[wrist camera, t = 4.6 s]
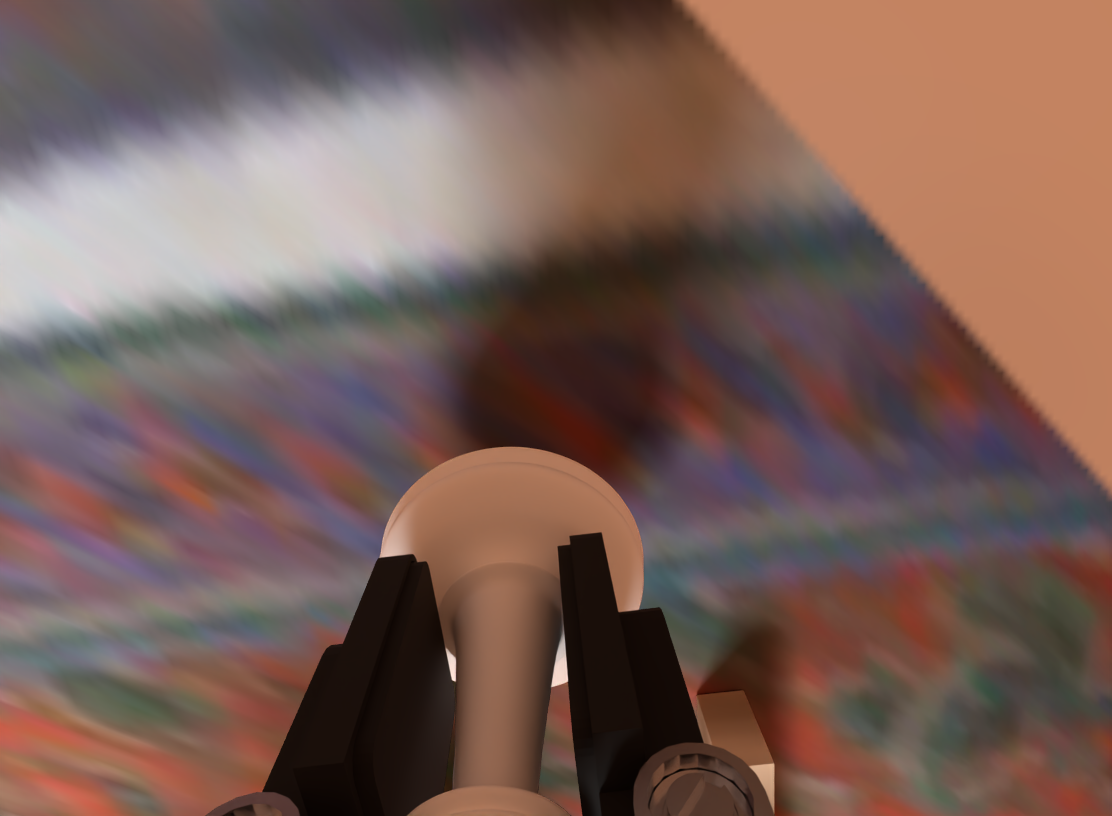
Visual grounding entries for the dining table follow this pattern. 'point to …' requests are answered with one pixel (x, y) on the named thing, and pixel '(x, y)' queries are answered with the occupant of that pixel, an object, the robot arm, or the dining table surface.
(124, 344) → the dining table surface
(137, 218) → the dining table surface
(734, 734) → the guide channel
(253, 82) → the dining table surface
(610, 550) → the chess piece
